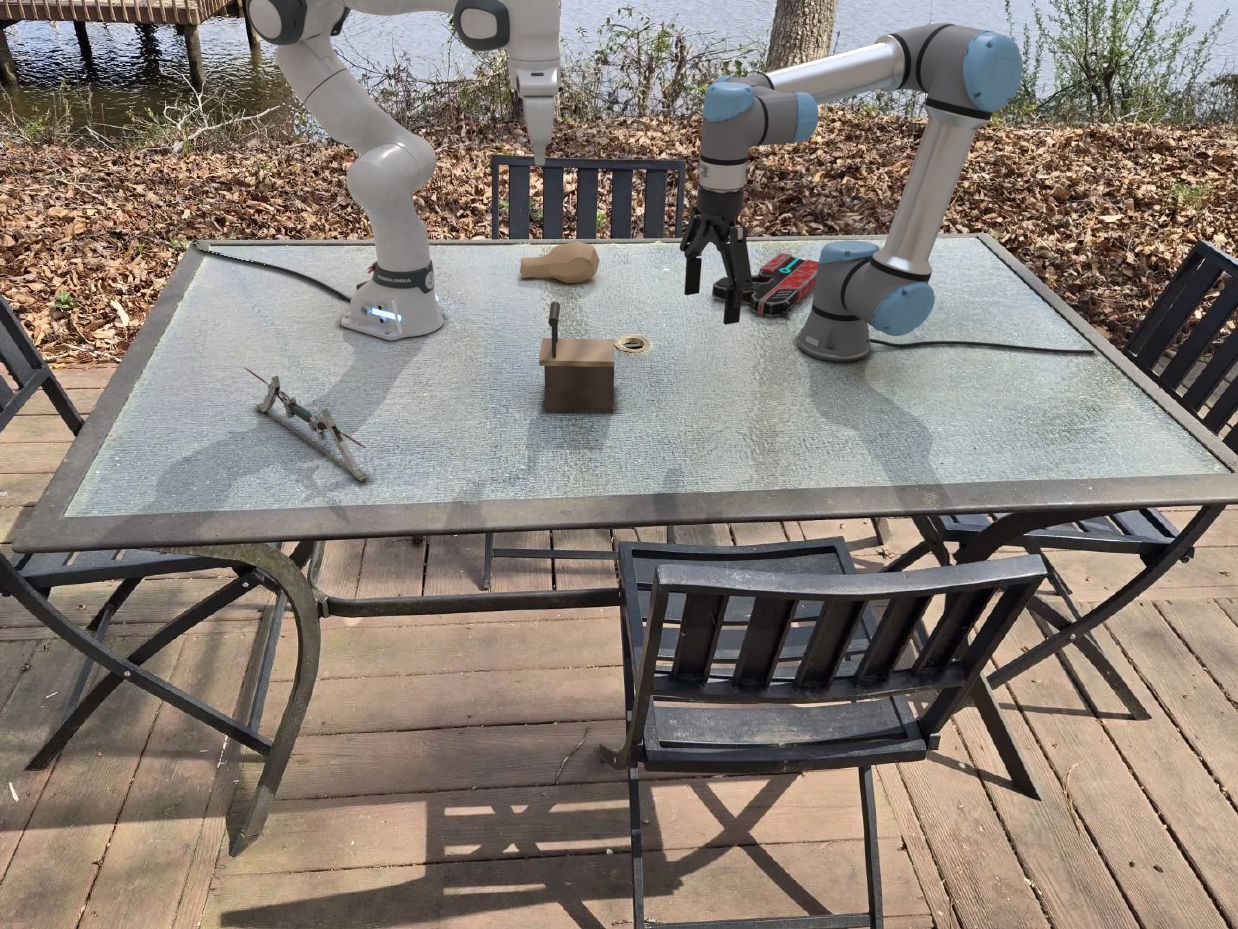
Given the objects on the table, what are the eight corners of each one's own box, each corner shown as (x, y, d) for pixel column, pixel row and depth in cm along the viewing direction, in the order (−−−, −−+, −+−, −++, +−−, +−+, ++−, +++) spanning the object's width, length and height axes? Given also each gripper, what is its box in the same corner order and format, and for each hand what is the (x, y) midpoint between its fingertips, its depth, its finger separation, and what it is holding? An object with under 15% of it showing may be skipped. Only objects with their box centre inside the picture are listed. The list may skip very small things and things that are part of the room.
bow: (377, 484, 144) (369, 432, 138) (368, 488, 143) (359, 436, 137) (258, 401, 165) (247, 353, 160) (249, 404, 164) (237, 356, 158)
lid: (539, 365, 159) (537, 320, 154) (542, 343, 167) (541, 298, 162) (614, 367, 160) (615, 321, 155) (614, 344, 168) (615, 300, 162)
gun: (708, 284, 207) (784, 305, 199) (760, 245, 229) (831, 262, 221) (706, 302, 209) (781, 323, 201) (758, 261, 231) (828, 278, 223)
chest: (545, 412, 165) (544, 366, 160) (548, 387, 173) (547, 343, 167) (613, 413, 165) (614, 367, 160) (613, 389, 173) (614, 344, 168)
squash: (601, 287, 216) (596, 255, 210) (521, 294, 218) (514, 262, 211) (602, 264, 224) (597, 232, 218) (524, 271, 225) (518, 240, 219)
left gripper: (513, 64, 160) (517, 143, 167) (520, 86, 143) (523, 173, 150) (548, 64, 160) (550, 142, 168) (558, 86, 144) (560, 172, 151)
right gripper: (664, 168, 150) (659, 285, 162) (742, 211, 132) (729, 339, 144) (702, 164, 153) (694, 279, 165) (784, 205, 135) (768, 332, 146)
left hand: (537, 157), depth 159 cm, fingers open, 8 cm apart
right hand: (710, 307), depth 154 cm, fingers open, 13 cm apart
